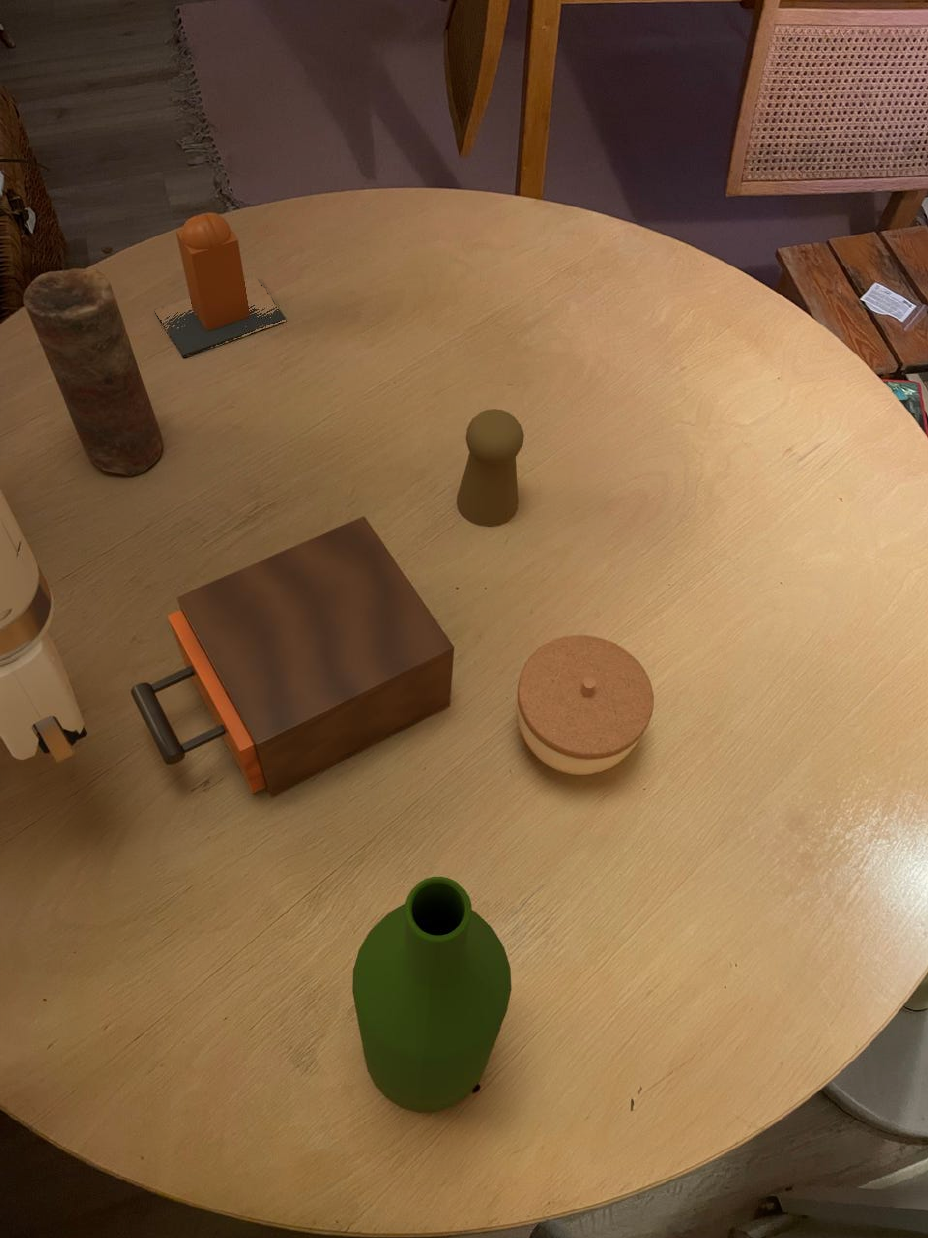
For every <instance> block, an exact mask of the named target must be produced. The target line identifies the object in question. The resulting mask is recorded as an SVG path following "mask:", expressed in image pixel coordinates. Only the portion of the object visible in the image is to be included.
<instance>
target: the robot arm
mask: <svg viewBox="0 0 928 1238" xmlns="http://www.w3.org/2000/svg"><path fill="white" fill-rule="evenodd" d="M37 561H38V560H37V559H36V557H35V555H34V554H33V551H32V550H31V547H30V546H29V544H28V542H27V540H26V537H25V536H24V534H23V532H22V530H21V528H20V526H19V523H18V521H17V520H16V517H15V515H14V513H13V511H12V510H11V507H10V505H9V503H8V501H7V499H6V497H5V495H4V493H3V491H2V489H1V488H0V738H1V740H2V742H3V743H4V745H5V746H6V747H7V750H9V753H10V754H11V756H12V757H13V758H15V759H17V760H19V761H24V760H27V759H29V758H33V757H35V756H36V753H37V750H38V746H39V748H40V749H41V751H42V752H43V753H44V754H45V755H46V754H51V756H52V757H53V759H54V761H55V762H56V763H57V764H60V763H62V762H64V761H66V760H69V759H71V758H73V757H75V756H76V753H75V751H74V748H73V746H75V744H76V743H77V741H79V740H81V739H83V738H85V737H86V736H87V735H88V732H87V730H86V727H85V722H84V719H83V715H82V712H81V710H80V706H79V704H78V700H77V699H76V696H75V693H74V691H73V688H72V685H71V682H70V679H69V677H68V674H67V672H66V670H65V667H64V665H63V661H62V659H61V656H60V655H59V652H58V650H57V648H56V645H55V643H54V640H53V638H52V636H51V634H50V632H49V628H50V625H51V623H52V621H53V617H54V613H55V601H54V600H55V599H54V596H53V592H52V589H51V588H50V586H49V584H48V582H47V579H46V577H45V575H44V573H43V571H42V568H41V567H40V565H39V564H38V562H37Z"/></svg>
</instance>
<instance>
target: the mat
mask: <svg viewBox="0 0 928 1238" xmlns="http://www.w3.org/2000/svg"><path fill="white" fill-rule="evenodd" d="M253 306H255V305H253ZM253 306H251V307H250V308H252V307H253ZM250 308H249V309H250ZM275 308H277V307H275ZM275 308H273V309H271V310H269V311H267V312H266V313H268V312H270V311H272V310H274V309H275ZM264 309H265V308H264ZM264 309H262V310H264ZM279 309H280V308H279ZM279 309H276V310H275V311H274V312H273V314H272V313H270V314H271V315H270V314H267V315H266V313H264V314H262V313H260V314H257V313H259V312H260V311H259V312H257V313H254V312H255V311H257V310H259V309H255V308H254V309H252V310H253V311H252V310H250V311H251V312H250V311H249V312H250V314H251V315H250V317H248V318H245V319H242V320H240V321H237V322H234V323H231V324H228V325H225V326H223V327H220V328H217V329H214V330H211V331H207V330H206V329H205V327H204V326H203V324H202V323H201V321H200V320H199V318H198V317H197V315H195V312H192V313H189V312H191V311H192V310H193V309H192V310H189V311H188V312H187V313H186V312H184V313H186V314H185V315H184V316H183V317H180V316H182V315H183V314H184V313H182V314H180V315H179V316H178V315H177V316H178V317H177V316H175V315H176V314H177V313H178V312H177V313H176V314H175V315H174V316H175V317H174V316H173V317H174V318H172V319H170V320H169V322H168V321H167V322H168V323H167V322H165V323H167V324H166V325H170V326H169V328H168V329H167V331H168V333H169V335H170V336H169V335H168V336H169V338H170V337H171V338H172V340H173V341H172V340H171V341H172V343H173V342H174V343H175V344H174V343H173V344H174V346H175V345H176V346H177V347H176V346H175V347H176V349H177V348H178V349H177V351H178V350H179V351H180V352H179V351H178V352H179V354H180V353H181V354H180V355H181V357H182V358H183V357H187V356H188V355H189V356H190V355H192V356H194V355H193V354H195V355H197V354H196V353H198V354H200V353H199V352H201V353H203V352H205V351H204V350H206V351H208V350H207V349H209V350H211V349H210V348H211V347H215V346H216V345H220V344H223V343H225V342H226V341H230V340H233V339H234V338H238V337H241V336H242V335H244V334H247V333H250V332H253V331H255V330H256V329H259V328H263V327H264V326H265V327H266V325H270V324H275V323H278V322H280V321H282V320H285V319H286V320H287V317H286V316H285V315H284V313H283V312H282V311H281V309H280V310H279ZM262 310H261V311H262ZM277 310H278V311H277ZM188 313H189V314H188ZM252 313H254V314H252ZM261 314H262V315H261ZM259 315H261V316H259ZM264 315H266V316H264ZM257 316H259V317H257ZM262 316H263V317H262ZM169 317H170V316H169ZM169 317H167V318H166V319H168V318H169ZM176 317H177V318H176ZM179 317H180V318H179ZM270 317H271V318H270ZM175 318H176V319H175ZM178 318H179V319H178ZM166 319H165V320H166ZM174 319H175V320H174ZM184 319H185V320H184ZM173 320H174V321H173ZM161 321H162V320H161ZM171 321H173V322H171ZM178 321H179V322H178ZM170 322H171V323H170ZM177 322H178V323H177ZM165 323H163V325H164V324H165ZM163 325H162V326H163ZM166 325H165V326H166ZM173 325H175V326H174V327H172V326H173ZM184 325H185V326H184ZM262 325H263V326H262ZM182 326H183V327H182ZM245 326H246V327H245ZM260 326H261V327H260ZM167 327H168V326H167ZM167 327H165V328H167ZM177 327H179V328H178V329H177ZM168 333H167V334H168ZM171 338H170V339H171ZM223 345H224V344H223ZM220 346H221V345H220ZM215 348H216V347H215ZM202 351H203V352H202ZM190 357H191V356H190ZM187 358H188V357H187Z"/></svg>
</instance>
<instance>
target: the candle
mask: <svg viewBox="0 0 928 1238" xmlns="http://www.w3.org/2000/svg"><path fill="white" fill-rule="evenodd" d="M23 292H24V293H23V297H22V301H23V305H24V307H25V309H26V312H27V315H28V316H29V319H30V321H31V323H32V325H33V328H34V331H35V333H36V335H37V338H38V341H39V343H40V345H41V347H42V350H43V352H44V355H45V357H46V359H47V362H48V364H49V366H50V370H51V372H52V374H53V376H54V378H55V381H56V383H57V386H58V388H59V391H60V394H61V396H62V398H63V402H64V403H65V406H66V409H67V411H68V413H69V416H70V418H71V421H72V424H73V426H74V428H75V431H76V433H77V435H78V438H79V440H80V443H81V446H82V447H83V449H84V452H85V453H86V455H87V458H88V459H89V461H91V462H92V463H93V464H94V465H95V466H97V468H99V469H101V470H102V471H105V472H109V473H113V474H118V475H119V474H120V475H123V476H124V475H125V476H126V477H127V476H128V477H131V476H132V477H133V476H138V475H140V474H142V473H144V472H146V471H147V470H148V469H149V468H150V467H151V466H152V465H153V464H155V463H156V462H157V460H158V459H159V458H160V456H161V453H162V446H163V435H162V432H161V429H160V427H159V423H158V421H157V417H156V414H155V411H154V409H153V406H152V403H151V399H150V397H149V393H148V390H147V388H146V386H145V383H144V379H143V377H142V374H141V371H140V368H139V364H138V362H137V359H136V356H135V353H134V351H133V347H132V345H131V341H130V337H129V334H128V332H127V329H126V326H125V323H124V319H123V316H122V313H121V311H120V308H119V305H118V302H117V299H116V295H115V293H114V289H113V287H112V284H111V282H110V279H109V278H108V276H106V275H105V274H104V273H102V272H101V271H100V270H99V269H96V268H93V269H88V268H70V269H65V270H55V271H53V270H52V271H46V272H45V273H41V274H40V275H38V276H37V277H35V278H34V279H33V280H32V281H31V282H30V284H29V285H27V288H26V289H25V290H24V291H23Z"/></svg>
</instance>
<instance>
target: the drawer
mask: <svg viewBox="0 0 928 1238" xmlns="http://www.w3.org/2000/svg"><path fill="white" fill-rule="evenodd" d="M167 620H168V621H169V625H170V627H171V630H172V632H173V633H172V634H173V636H174V639H175V642H176V644H177V646H178V650H179V652H180V655H181V658H182V661H183V664H184V666H185V668H183V669H181V670H179V671H176V672H174V673H172V674H170V675H168V676H166V677H164V678H163V677H162V678H161V679H159V680H157V681H154V682H153V683H149V682H146V681H143V682H140V683H138V684H136V685H134V686H133V687H132V688H131V690H130V694H131V696H132V698H133V700H134V703H135V705H136V706H137V709H138V711H139V713H140V715H141V717H142V719H143V721H144V723H145V726H146V727H147V729H148V731H149V733H150V735H151V738H152V740H153V741H154V743H155V745H156V748H157V749H158V750H157V751H159V754H160V755H161V758H162V759H163V762H164V764H165V765H167V766H173V765H176V764H178V763H180V762H182V761H183V760H184V759H185V758H186V754H187V753H190V752H191V751H193V750H195V749H197V748H200V747H201V746H204V745H206V744H208V743H210V742H212V741H214V740H215V739H218V738H220V737H222V738H223V740H224V742H225V744H226V745H227V747H228V749H229V751H230V754H231V755H232V757H233V759H234V761H235V763H236V765H237V767H238V768H239V770H240V772H241V774H242V776H243V778H244V780H245V781H246V783H247V785H248V787H249V789H250V791H251V793H252V794H254V793H258V792H259V791H261V790H263V789H266V784H265V780H264V776H263V773H262V769H261V766H260V762H259V759H258V755H257V752H256V748H255V745H254V742H253V741H252V739H251V737H250V735H249V733H248V731H247V729H246V728H245V726H244V724H243V722H242V720H241V718H240V717H239V715H238V713H237V711H236V709H235V707H234V706H233V704H232V702H231V700H230V698H229V696H228V694H227V693H226V691H225V689H224V687H223V685H222V683H221V682H220V680H219V678H218V676H217V674H216V672H215V671H214V669H213V667H212V665H211V663H210V661H209V659H208V658H207V656H206V654H205V652H204V650H203V648H202V647H201V645H200V643H199V641H198V639H197V637H196V635H195V634H194V632H193V630H192V628H191V626H190V624H189V623H188V621H187V619H186V617H185V615H184V613H183V612H182V610H178V611H175V612H172V613H170V614H169V615H167ZM189 678H191V679H192V681H193V683H194V685H195V687H196V689H197V691H198V693H199V694H200V696H201V698H202V700H203V702H204V704H205V705H206V708H207V710H208V712H209V713H210V716H211V718H212V719H213V721H214V723H215V725H216V727H214V728H212V729H210V730H208V731H206V732H204V733H202V734H200V735H197V736H196V737H194V738H191V739H189V740H187V741H185V742H183V743H180V740H179V739H178V736H177V735H176V733H175V731H174V729H173V727H172V725H171V723H170V721H169V719H168V717H167V715H166V713H165V711H164V709H163V707H162V705H161V703H160V701H159V699H158V697H157V695H156V694H157V693H159V692H161V691H163V690H166V689H167V688H170V687H172V686H174V685H176V684H178V683H181V682H182V681H185V680H187V679H189Z"/></svg>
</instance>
